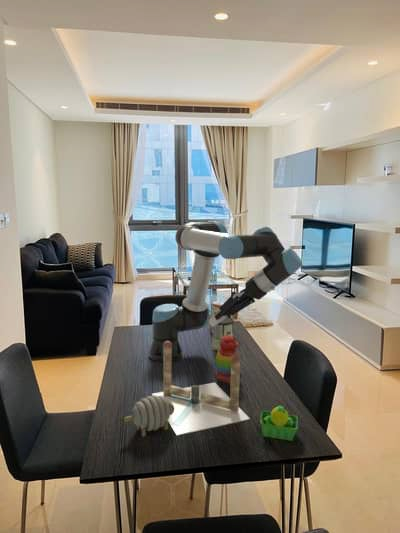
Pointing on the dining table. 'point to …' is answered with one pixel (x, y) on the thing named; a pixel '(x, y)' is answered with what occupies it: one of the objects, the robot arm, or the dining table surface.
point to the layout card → (200, 411)
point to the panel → (234, 389)
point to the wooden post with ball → (167, 386)
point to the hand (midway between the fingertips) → (211, 323)
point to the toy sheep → (151, 413)
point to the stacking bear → (225, 358)
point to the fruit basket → (279, 424)
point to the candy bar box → (215, 311)
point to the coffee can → (221, 332)
